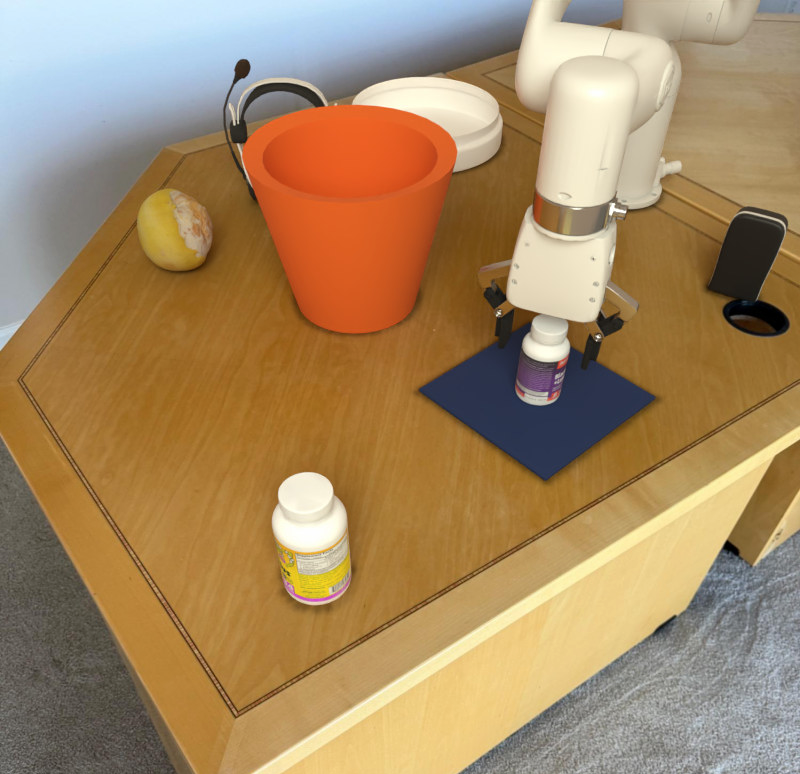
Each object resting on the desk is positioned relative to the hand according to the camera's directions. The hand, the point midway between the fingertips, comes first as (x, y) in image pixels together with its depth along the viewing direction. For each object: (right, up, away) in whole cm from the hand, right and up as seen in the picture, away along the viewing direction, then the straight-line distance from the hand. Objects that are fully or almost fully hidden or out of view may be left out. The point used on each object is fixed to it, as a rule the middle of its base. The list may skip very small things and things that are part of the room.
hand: (544, 352), depth 86 cm
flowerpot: (-22, +11, +18) cm, 31 cm away
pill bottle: (0, -4, +5) cm, 6 cm away
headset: (-33, +32, +34) cm, 58 cm away
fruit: (-47, +18, +23) cm, 55 cm away
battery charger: (+30, +13, +19) cm, 38 cm away
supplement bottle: (-24, -25, -12) cm, 37 cm away
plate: (-12, +49, +48) cm, 70 cm away
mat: (0, -4, +5) cm, 6 cm away
